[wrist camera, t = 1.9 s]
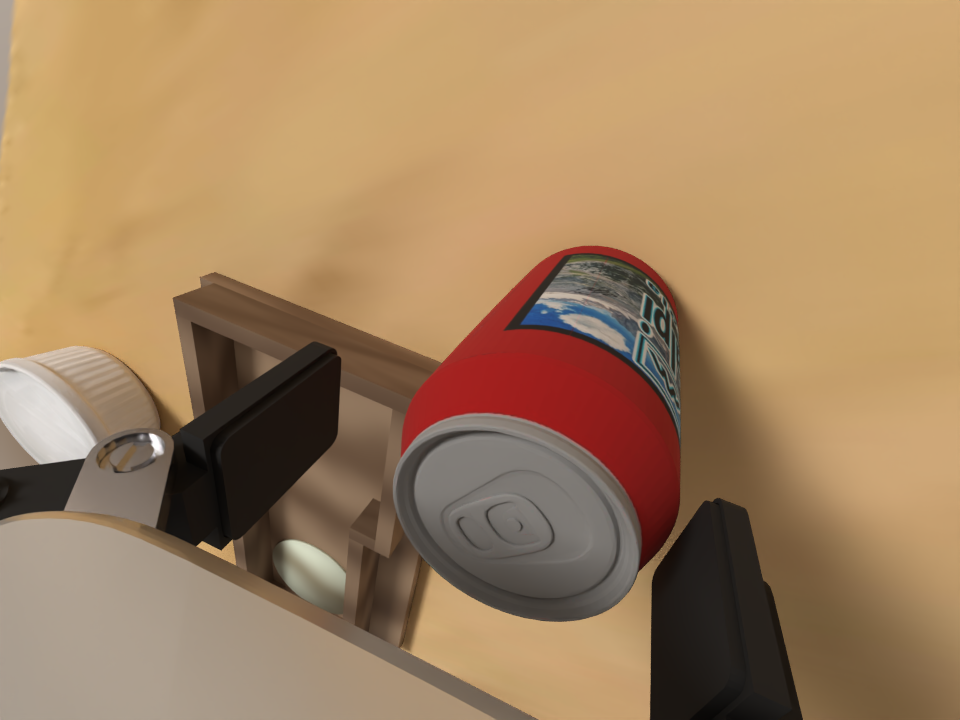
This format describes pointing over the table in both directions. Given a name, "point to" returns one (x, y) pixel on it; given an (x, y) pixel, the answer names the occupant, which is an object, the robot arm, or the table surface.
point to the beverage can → (550, 441)
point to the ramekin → (71, 402)
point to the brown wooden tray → (338, 472)
